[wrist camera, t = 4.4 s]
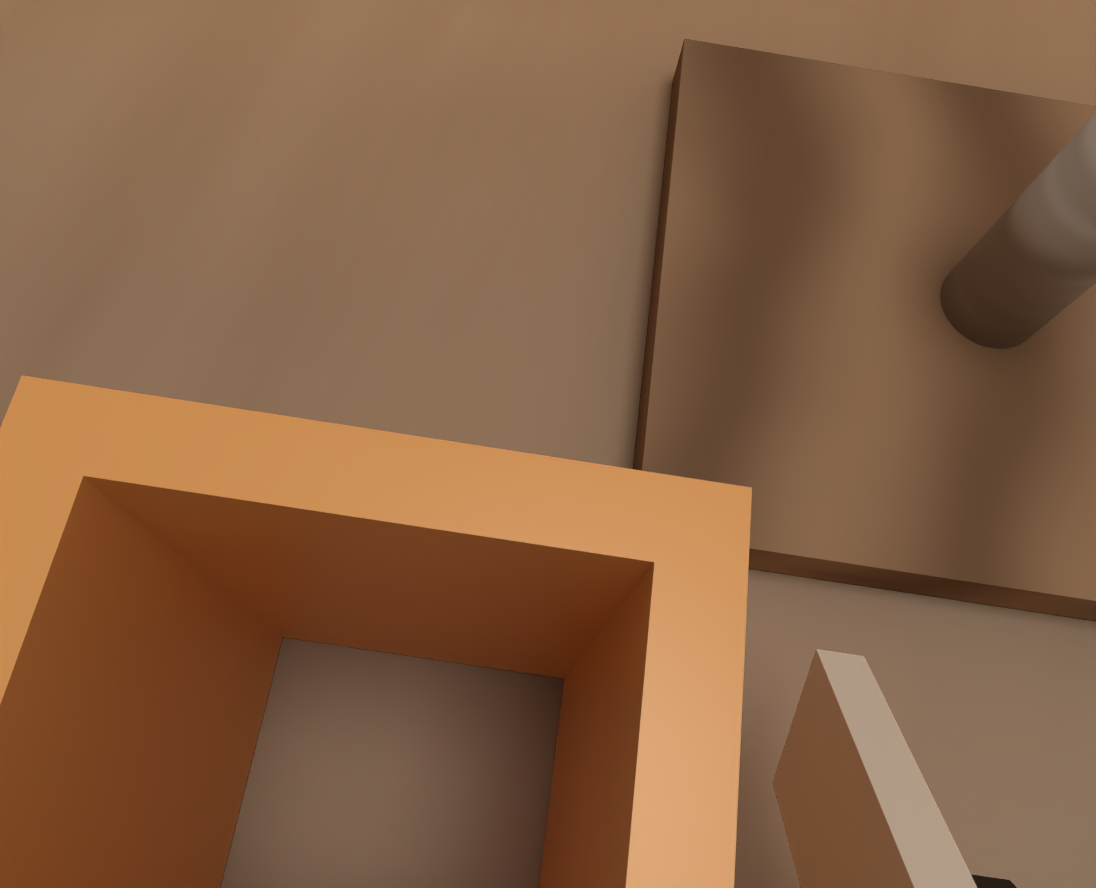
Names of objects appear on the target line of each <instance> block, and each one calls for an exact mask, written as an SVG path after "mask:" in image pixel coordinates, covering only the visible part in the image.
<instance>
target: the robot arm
mask: <svg viewBox="0 0 1096 888" xmlns="http://www.w3.org/2000/svg"><path fill="white" fill-rule="evenodd" d="M773 786H774V790H775V793H776V797H777V801H778V804H779V808H780V812H781V816H782V819H783V823H784V827H785V831H786V834H787V838H788V842H789V845H790V849H791V853H792V857H793V860H794V864H795V868H796V871H797V875H798V879H799V883H800V886H801V888H1016V887H1015V885H1014V884H1013V883H1012V882H1011V881H1010V880H1005V879H998V878H991V877H984V876H977V875H971V874H970V872H969V870H968V868H967V866H966V864H965V861H964V859H963V857H962V855H961V853H960V851H959V849H958V847H957V845H956V843H955V841H954V839H953V837H952V835H951V833H950V831H949V829H948V827H947V825H946V823H945V821H944V819H943V817H942V814H941V812H940V810H939V808H938V806H937V804H936V802H935V800H934V798H933V796H932V794H931V792H930V790H929V788H928V786H927V784H926V782H925V780H924V778H923V776H922V774H921V772H920V769H919V767H918V765H917V763H916V761H915V759H914V757H913V755H912V753H911V751H910V749H909V747H908V745H907V743H906V741H905V739H904V737H903V735H902V733H901V731H900V729H899V727H898V725H897V722H896V720H895V718H894V716H893V714H892V712H891V710H890V708H889V706H888V704H887V702H886V700H885V698H884V696H883V694H882V692H881V690H880V688H879V686H878V684H877V682H876V680H875V678H874V675H873V673H872V671H871V669H870V667H869V665H868V663H867V661H866V659H865V657H864V656H860V655H853V654H847V653H840V652H833V651H827V650H820V649H816V651H815V654H814V657H813V660H812V663H811V666H810V670H809V673H808V676H807V679H806V682H805V685H804V688H803V691H802V694H801V697H800V700H799V703H798V706H797V709H796V712H795V715H794V718H793V722H792V725H791V728H790V731H789V734H788V737H787V740H786V743H785V746H784V749H783V752H782V755H781V758H780V761H779V764H778V767H777V770H776V774H775V777H774V780H773Z"/></svg>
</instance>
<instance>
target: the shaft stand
mask: <svg viewBox="0 0 1096 888" xmlns="http://www.w3.org/2000/svg"><path fill="white" fill-rule="evenodd" d="M633 469H634V470H641V471H647V472H654V473H660V474H667V475H673V476H680V477H686V478H693V479H699V480H706V481H712V482H719V483H725V484H732V485H738V486H745V487H752V501H751V523H750V545H749V567H748V568H749V569H755V570H762V571H769V572H775V573H782V574H788V575H795V576H802V577H808V578H815V579H821V580H828V581H835V582H841V583H848V584H854V585H861V586H868V587H874V588H881V589H888V590H894V591H901V592H907V593H914V594H921V595H927V596H934V597H940V598H947V599H954V600H960V601H967V602H973V603H980V604H987V605H993V606H1000V607H1006V608H1013V609H1020V610H1026V611H1033V612H1039V613H1046V614H1053V615H1059V616H1066V617H1072V618H1079V619H1086V620H1092V621H1096V106H1090V105H1084V104H1078V103H1072V102H1066V101H1060V100H1054V99H1048V98H1042V97H1036V96H1029V95H1023V94H1017V93H1011V92H1005V91H999V90H993V89H987V88H981V87H975V86H969V85H963V84H956V83H950V82H944V81H938V80H932V79H926V78H920V77H914V76H908V75H902V74H896V73H890V72H883V71H877V70H871V69H865V68H859V67H853V66H847V65H841V64H835V63H829V62H823V61H817V60H811V59H804V58H798V57H792V56H786V55H780V54H774V53H768V52H762V51H756V50H750V49H744V48H738V47H731V46H725V45H719V44H713V43H707V42H701V41H695V40H689V39H684V42H683V46H682V50H681V53H680V57H679V60H678V64H677V68H676V71H675V75H674V78H673V84H672V94H671V103H670V113H669V123H668V133H667V142H666V152H665V162H664V172H663V181H662V191H661V201H660V211H659V220H658V230H657V240H656V250H655V259H654V269H653V279H652V289H651V298H650V308H649V318H648V328H647V337H646V347H645V357H644V367H643V376H642V386H641V396H640V406H639V415H638V425H637V435H636V445H635V454H634V464H633Z"/></svg>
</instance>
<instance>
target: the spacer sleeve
mask: <svg viewBox="0 0 1096 888" xmlns="http://www.w3.org/2000/svg"><path fill="white" fill-rule="evenodd" d="M751 501H752V487H745V486H738V485H732V484H725V483H719V482H712V481H706V480H699V479H693V478H686V477H680V476H673V475H667V474H660V473H654V472H647V471H641V470H634V469H628V468H621V467H615V466H608V465H602V464H595V463H589V462H582V461H576V460H569V459H563V458H556V457H550V456H543V455H536V454H530V453H523V452H517V451H510V450H504V449H497V448H491V447H484V446H478V445H471V444H465V443H458V442H452V441H445V440H439V439H432V438H426V437H419V436H413V435H406V434H400V433H393V432H387V431H380V430H374V429H367V428H361V427H354V426H348V425H341V424H334V423H328V422H321V421H315V420H308V419H302V418H295V417H289V416H282V415H276V414H269V413H263V412H256V411H250V410H243V409H237V408H230V407H224V406H217V405H211V404H204V403H198V402H191V401H185V400H178V399H172V398H165V397H159V396H152V395H145V394H139V393H132V392H126V391H119V390H113V389H106V388H100V387H93V386H87V385H80V384H74V383H67V382H61V381H54V380H48V379H41V378H35V377H28V376H21V379H20V381H19V384H18V386H17V389H16V391H15V393H14V396H13V398H12V401H11V403H10V406H9V408H8V410H7V413H6V415H5V418H4V420H3V423H2V425H1V427H0V888H220V887H221V883H222V879H223V875H224V871H225V867H226V863H227V859H228V855H229V851H230V847H231V843H232V839H233V835H234V830H235V826H236V822H237V818H238V814H239V810H240V806H241V802H242V798H243V794H244V790H245V786H246V782H247V778H248V774H249V770H250V766H251V762H252V758H253V754H254V750H255V746H256V742H257V738H258V734H259V730H260V726H261V722H262V718H263V714H264V710H265V706H266V702H267V698H268V694H269V690H270V686H271V682H272V678H273V674H274V670H275V666H276V662H277V658H278V654H279V650H280V646H281V642H282V638H283V637H285V638H292V639H299V640H305V641H312V642H319V643H326V644H332V645H339V646H346V647H353V648H359V649H366V650H373V651H380V652H386V653H393V654H400V655H407V656H413V657H420V658H427V659H434V660H441V661H447V662H454V663H461V664H468V665H474V666H481V667H488V668H495V669H501V670H508V671H515V672H522V673H528V674H535V675H542V676H549V677H555V678H562V679H564V685H563V693H562V701H561V709H560V717H559V725H558V733H557V742H556V750H555V758H554V766H553V774H552V782H551V790H550V798H549V807H548V815H547V823H546V831H545V839H544V847H543V855H542V863H541V872H540V880H539V888H734V875H735V853H736V831H737V809H738V787H739V765H740V743H741V721H742V699H743V677H744V655H745V633H746V611H747V589H748V567H749V545H750V523H751Z"/></svg>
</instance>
